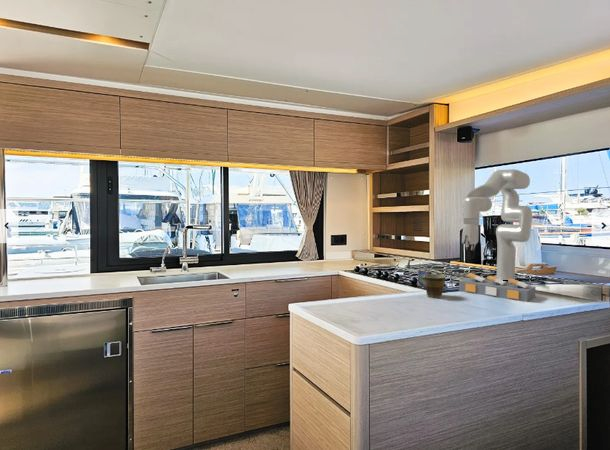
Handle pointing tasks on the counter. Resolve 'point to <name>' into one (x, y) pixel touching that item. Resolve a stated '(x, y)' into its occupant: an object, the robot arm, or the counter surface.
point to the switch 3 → (518, 283)
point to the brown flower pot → (433, 285)
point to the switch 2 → (496, 280)
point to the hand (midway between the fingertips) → (470, 257)
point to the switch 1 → (476, 277)
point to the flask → (421, 274)
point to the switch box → (497, 289)
